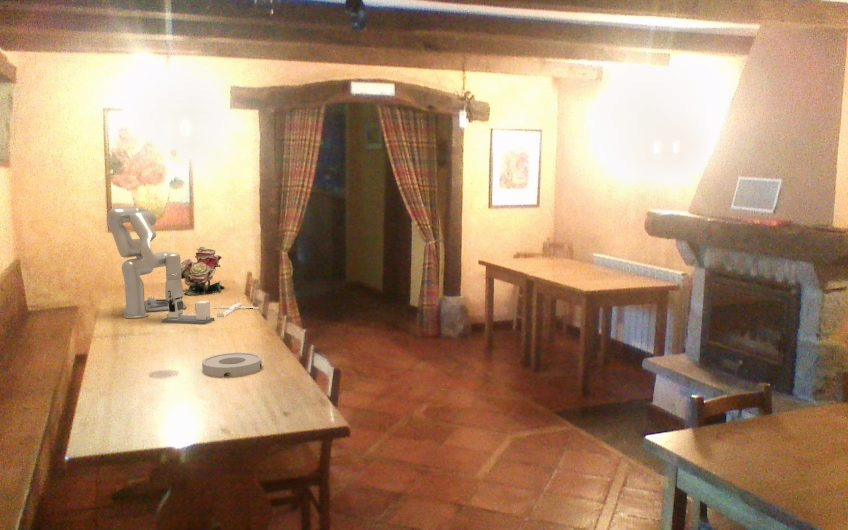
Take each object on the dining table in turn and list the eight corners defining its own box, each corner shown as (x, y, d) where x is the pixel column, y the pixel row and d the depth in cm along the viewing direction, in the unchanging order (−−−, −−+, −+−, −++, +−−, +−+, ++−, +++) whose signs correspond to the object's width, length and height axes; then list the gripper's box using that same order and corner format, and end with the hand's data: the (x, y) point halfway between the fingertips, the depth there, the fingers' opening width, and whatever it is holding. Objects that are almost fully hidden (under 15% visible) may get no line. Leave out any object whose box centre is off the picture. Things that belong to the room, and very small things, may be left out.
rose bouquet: (178, 290, 477) (176, 245, 472) (224, 288, 485) (222, 244, 481) (178, 297, 452) (175, 249, 448) (226, 294, 461) (224, 248, 457)
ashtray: (239, 358, 308) (238, 349, 307) (273, 368, 293) (273, 358, 292) (191, 370, 290) (190, 360, 290) (224, 381, 275) (224, 371, 275)
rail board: (161, 322, 379) (160, 302, 378) (172, 318, 389) (171, 298, 387) (204, 324, 374) (203, 304, 372) (214, 320, 383) (213, 300, 382)
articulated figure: (196, 312, 392) (217, 300, 422) (196, 319, 393) (217, 306, 422) (244, 313, 389) (262, 300, 419) (245, 320, 390) (262, 307, 420)
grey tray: (186, 310, 414) (186, 298, 413) (146, 313, 405) (146, 301, 404) (181, 301, 441) (180, 290, 440) (143, 304, 432) (142, 292, 431)
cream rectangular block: (168, 316, 380) (167, 300, 379) (174, 314, 386) (173, 298, 384) (178, 317, 379) (177, 300, 378) (184, 315, 384) (183, 298, 383)
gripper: (176, 274, 389) (178, 307, 391) (158, 279, 372) (159, 313, 374) (189, 274, 387) (190, 307, 389) (171, 279, 370) (172, 314, 373)
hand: (175, 310), depth 382 cm, fingers open, 5 cm apart
